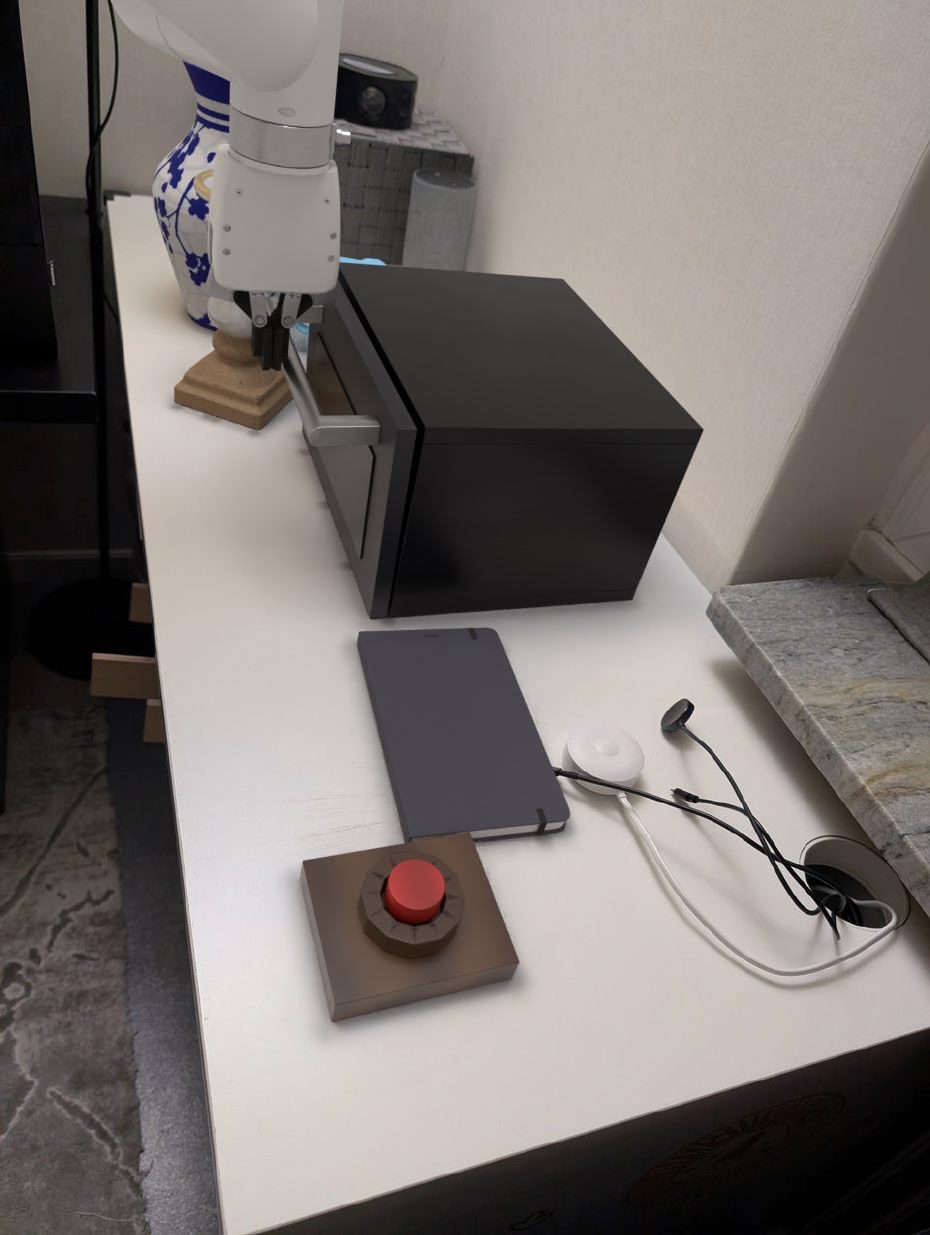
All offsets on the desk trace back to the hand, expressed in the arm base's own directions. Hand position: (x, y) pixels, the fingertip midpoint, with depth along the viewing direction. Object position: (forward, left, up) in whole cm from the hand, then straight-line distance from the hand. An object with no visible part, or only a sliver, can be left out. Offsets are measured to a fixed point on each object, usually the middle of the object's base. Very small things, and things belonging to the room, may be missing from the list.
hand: (268, 363), depth 79 cm
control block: (+34, -32, -17) cm, 49 cm away
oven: (+16, +15, -17) cm, 28 cm away
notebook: (+29, -14, -17) cm, 36 cm away
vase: (-30, +35, -17) cm, 49 cm away
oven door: (+4, +4, -17) cm, 17 cm away
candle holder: (-16, +18, -17) cm, 29 cm away
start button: (+34, -32, -13) cm, 48 cm away
